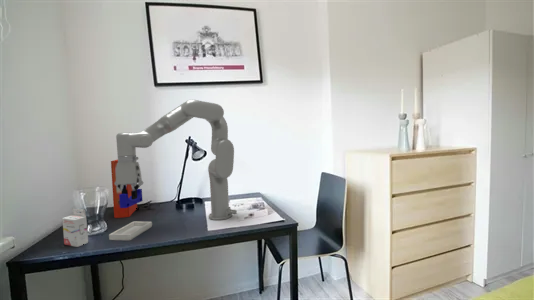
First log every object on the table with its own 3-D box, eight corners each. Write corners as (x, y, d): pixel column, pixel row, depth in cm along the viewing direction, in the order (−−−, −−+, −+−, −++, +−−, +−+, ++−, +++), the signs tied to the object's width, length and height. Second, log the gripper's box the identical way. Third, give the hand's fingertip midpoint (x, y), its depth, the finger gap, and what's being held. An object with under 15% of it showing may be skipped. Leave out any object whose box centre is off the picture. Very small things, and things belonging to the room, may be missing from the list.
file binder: (137, 208, 167) (134, 157, 165) (130, 216, 150) (126, 160, 148) (123, 209, 165) (120, 158, 163) (114, 218, 148) (110, 161, 146)
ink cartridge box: (63, 245, 113) (60, 211, 112) (75, 240, 118) (72, 207, 117) (77, 247, 110) (74, 212, 109) (89, 242, 115) (86, 209, 114)
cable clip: (134, 200, 130) (133, 188, 130) (142, 200, 130) (141, 188, 129) (117, 207, 119) (116, 194, 118) (126, 207, 118) (125, 194, 118)
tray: (152, 226, 132) (151, 221, 132) (130, 240, 115) (129, 234, 115) (133, 226, 134) (133, 221, 133) (109, 240, 117) (108, 234, 117)
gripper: (148, 158, 125) (151, 196, 126) (116, 159, 127) (118, 196, 128) (139, 160, 117) (141, 200, 119) (104, 160, 120) (107, 200, 121)
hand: (129, 198), depth 123 cm, fingers closed on cable clip, 4 cm apart
